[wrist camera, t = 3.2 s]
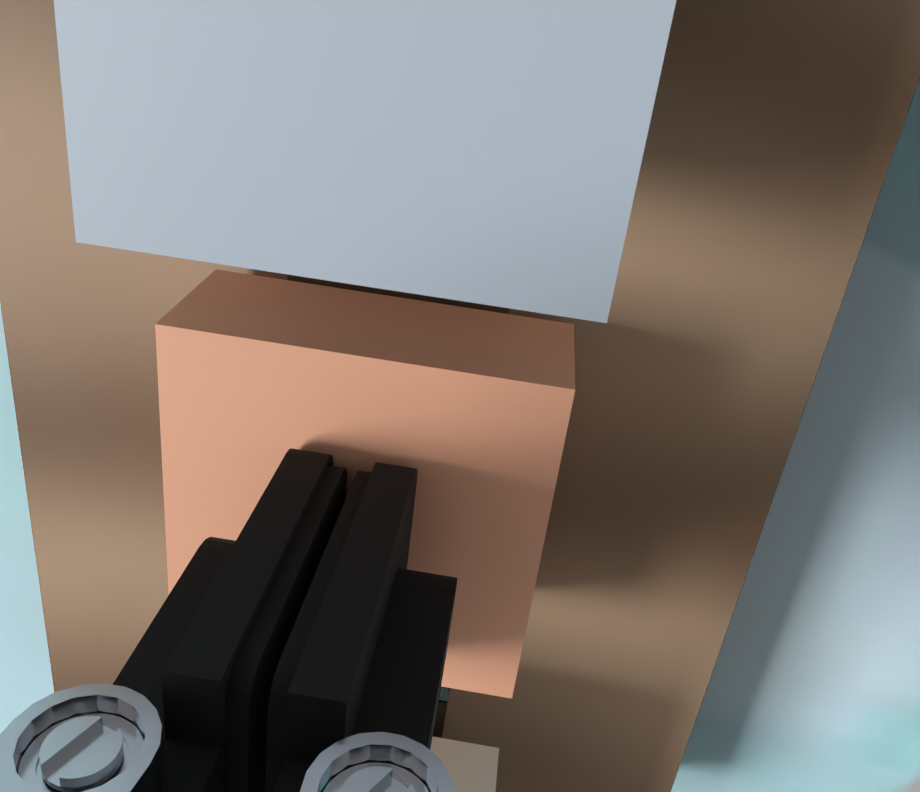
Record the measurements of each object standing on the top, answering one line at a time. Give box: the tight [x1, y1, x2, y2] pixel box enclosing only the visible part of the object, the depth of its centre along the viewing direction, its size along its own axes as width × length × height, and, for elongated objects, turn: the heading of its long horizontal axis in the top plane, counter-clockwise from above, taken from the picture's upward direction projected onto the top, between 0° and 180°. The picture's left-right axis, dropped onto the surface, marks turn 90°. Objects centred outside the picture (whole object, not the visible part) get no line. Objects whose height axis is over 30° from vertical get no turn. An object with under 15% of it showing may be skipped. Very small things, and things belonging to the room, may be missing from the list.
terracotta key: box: [155, 269, 575, 699], centre depth 13 cm, size 5×5×4 cm
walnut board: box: [0, 0, 920, 792], centre depth 14 cm, size 18×12×2 cm, turn 173°
